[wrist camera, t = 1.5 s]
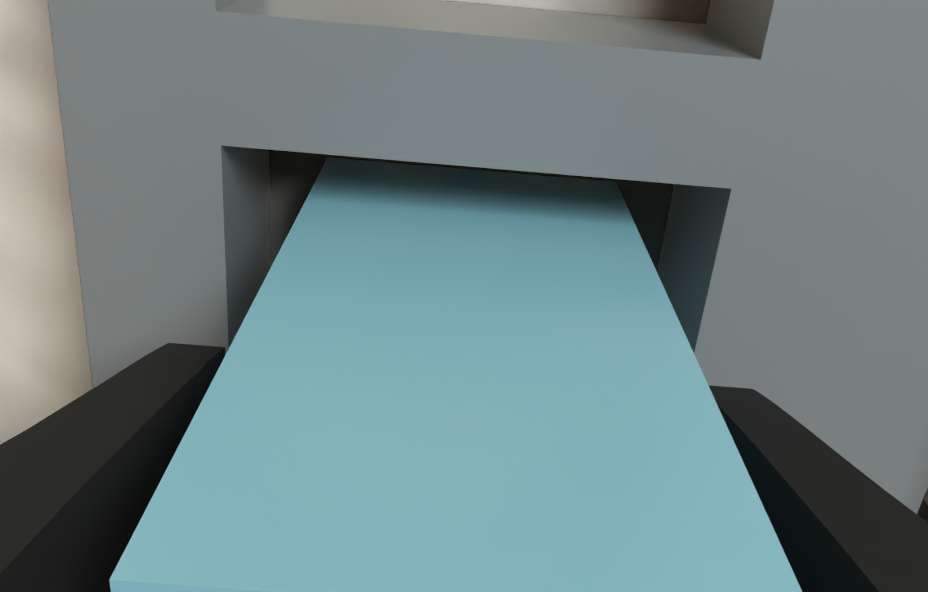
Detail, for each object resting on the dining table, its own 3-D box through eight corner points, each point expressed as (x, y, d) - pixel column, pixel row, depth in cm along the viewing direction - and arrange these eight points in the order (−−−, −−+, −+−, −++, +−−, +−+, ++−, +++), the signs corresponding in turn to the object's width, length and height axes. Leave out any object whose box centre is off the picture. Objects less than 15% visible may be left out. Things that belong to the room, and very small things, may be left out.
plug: (616, 181, 12) (819, 630, 5) (570, 452, 14) (669, 1053, 7) (328, 157, 12) (109, 580, 5) (323, 433, 14) (164, 1023, 7)
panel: (1933, -600, 9) (2431, -760, 6) (1225, 572, 15) (1351, 689, 13) (71, -809, 8) (-77, -1059, 6) (171, 493, 15) (117, 602, 12)
